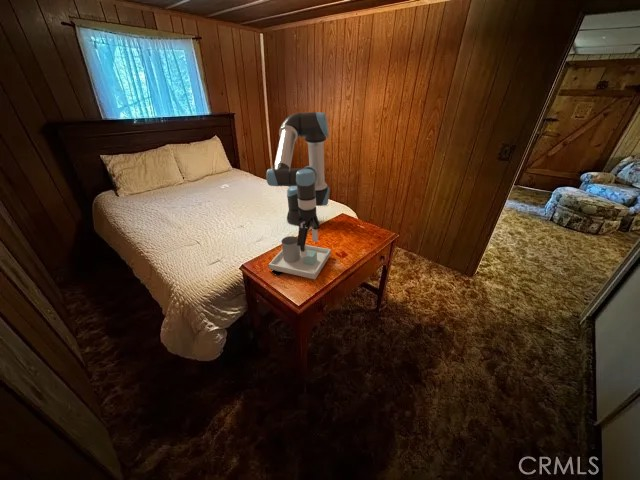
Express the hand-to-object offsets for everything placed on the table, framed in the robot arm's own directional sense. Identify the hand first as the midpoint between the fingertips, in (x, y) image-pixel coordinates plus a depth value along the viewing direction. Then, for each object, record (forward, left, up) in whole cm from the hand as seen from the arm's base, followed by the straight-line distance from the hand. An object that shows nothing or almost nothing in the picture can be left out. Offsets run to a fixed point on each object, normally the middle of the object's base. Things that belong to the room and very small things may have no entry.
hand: (309, 248), depth 119 cm
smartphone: (+8, -16, -10) cm, 21 cm away
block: (+1, 0, -7) cm, 7 cm away
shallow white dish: (+1, -5, -10) cm, 11 cm away
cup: (0, -10, -8) cm, 12 cm away
